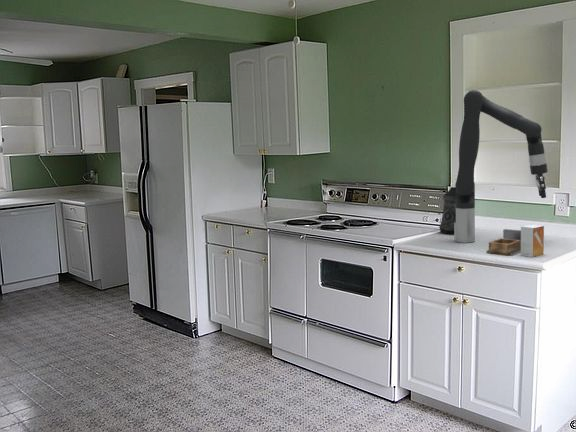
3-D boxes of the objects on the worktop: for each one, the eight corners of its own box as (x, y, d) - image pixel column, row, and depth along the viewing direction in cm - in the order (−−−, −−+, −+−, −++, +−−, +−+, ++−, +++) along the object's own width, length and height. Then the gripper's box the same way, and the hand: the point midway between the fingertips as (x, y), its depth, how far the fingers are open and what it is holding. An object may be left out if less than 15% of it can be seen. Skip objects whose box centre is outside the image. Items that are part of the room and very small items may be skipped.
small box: (533, 257, 256) (533, 227, 255) (520, 255, 262) (520, 226, 260) (544, 254, 261) (544, 225, 259) (531, 252, 266) (531, 224, 264)
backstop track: (484, 253, 270) (484, 235, 269) (505, 245, 284) (505, 229, 283) (514, 256, 260) (514, 238, 259) (534, 248, 274) (534, 231, 273)
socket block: (488, 253, 268) (488, 242, 268) (500, 248, 277) (500, 238, 276) (509, 255, 261) (509, 244, 261) (521, 251, 270) (521, 240, 269)
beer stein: (450, 228, 337) (449, 185, 334) (481, 232, 323) (480, 186, 319) (433, 233, 326) (432, 188, 323) (464, 236, 312) (463, 189, 308)
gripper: (528, 164, 291) (533, 196, 292) (531, 166, 277) (535, 199, 279) (544, 161, 289) (549, 194, 290) (548, 163, 275) (553, 197, 277)
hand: (542, 196), depth 285 cm, fingers open, 8 cm apart
